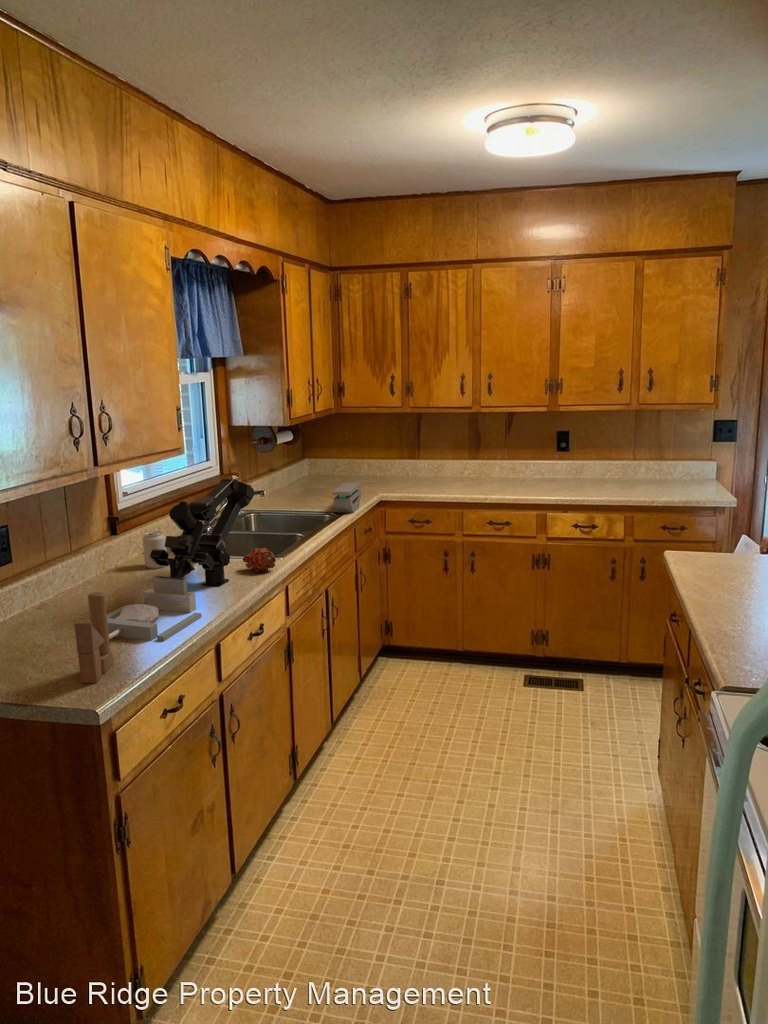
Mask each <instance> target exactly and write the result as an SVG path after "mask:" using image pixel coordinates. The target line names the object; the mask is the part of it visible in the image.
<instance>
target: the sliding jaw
mask: <svg viewBox="0 0 768 1024" xmlns="http://www.w3.org/2000/svg"><path fill="white" fill-rule="evenodd" d="M152 584H153V588H148V589H146V590H144V591H142V593H143V604H144V605H150V606H154V607H157V608H158V610H159V611H166V612H177V613H178V612H179V613H188V614H190V613H194V611H196V610H197V603H196V601H197V600H196V592H191V591H190V592H189V591H188V587H187V585H188V584H187V578H185V577H183V578H173V577H170V576H159V575H155V576H152Z"/></svg>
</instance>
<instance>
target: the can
mask: <svg viewBox="0 0 768 1024" xmlns="http://www.w3.org/2000/svg"><path fill="white" fill-rule="evenodd" d="M143 535H144V536H143V537H142V546H143V548H142V549H143V559H144V566H145V567H147V568H148V569H150V570H152V569H155V570H156V569H162V568H164V567H165V566H159V565H157V564H156V563H155V562H154V561H153V560H152V558H151V557H150V553H151V551H152V550H154V549H163V550H165V551H166V552H167V553H168V551H167V550H168V549H167V547H164V546H165V540H166V535H164V531H161V530H153V531H152V530H151V531H146V532H145V533H144V534H143Z"/></svg>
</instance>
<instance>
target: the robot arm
mask: <svg viewBox="0 0 768 1024" xmlns="http://www.w3.org/2000/svg"><path fill="white" fill-rule="evenodd" d="M254 495H255V490H254V488H253V487H252V485H251V484H247V483H244V482H241V481H239V480H237V479H236V478H227V477H226V478H222V479H220V480H219V483H218V484H216V486H215V487H214V488H212V489H211V491H209V492H208V493H207V494H206V495H205V496H204V497H200V498H196V499H195V500H192V501H191V502H190V503H189V502H187V501H184V500H182V501H181V500H180V501H179V504H176V505H174V506H173V507H172V508H171V509H170V510H169V514H168V515H169V517H170V519H171V521H172V522H173V523H174V524H175V525H176V527H178V529H180V530H181V531H182V532H181V534H180V535H177V536H175V535H174V536H173V535H165V537H166V540H165V546H164V547H166V548H169V551H170V552H171V553H168V551H167V552H166V551H165V550H163V549H154V550H152V551H151V553H150V557H151V558H152V560H153V561H154V562H155V563H156V564H157V565H159V566H164V567H169V570H170V571H169V572H170V574H169V577H173V578H185V576H187V575H188V574H190V573H191V572H193V571H195V570H196V568H195V566H196V564H197V565H198V566H201V568H202V569H203V570H204V579H205V580H204V581H203V582H201V585H202V586H214V587H220V586H222V585H225V584H226V583H228V582H229V581H230V579H229V578H225V577H226V576H225V567H226V566H229V564H230V560H231V556H230V554H228V552H227V551H226V550H227V547H226V543H225V542H226V541H227V540H226V539H227V538H228V536H229V534H230V532H231V529H232V527H233V525H234V524H235V522H236V520H237V517H238V515H239V514H240V511H241V510H242V509H244V508H246V507H248V506H249V505H250V503H251V502H252V500H253V499H254ZM225 500H226V503H225V506H224V508H223V510H222V511H221V513H220V515H219V518H218V519H217V521H216V523H215V525H214V527H213V529H212V531H211V533H210V534H208V528H207V527H206V524H205V523H204V524H203V522H211V521H212V520H213V519H214V517H215V516H216V514H217V508H218V507H219V506H220V505H221V504H222V503H223V502H224V501H225Z"/></svg>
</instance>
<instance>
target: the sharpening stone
mask: <svg viewBox="0 0 768 1024" xmlns="http://www.w3.org/2000/svg"><path fill="white" fill-rule="evenodd" d="M361 487H362V482H356V481H355V482H354V481H353V482H350V481H349V482H347V481H344V482H343V483H342V484H341V485H339V486H338V487H337V488H335V489H334V490H333V491H332V496H335V497H333V505H334V508H335V511H336V513H342V514H343V513H344V514H346V513H347V514H348V513H349V514H354V513H355V512H356V511H357V510H358V509H359V508H360V505H361V497H362V489H359V488H361Z"/></svg>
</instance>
